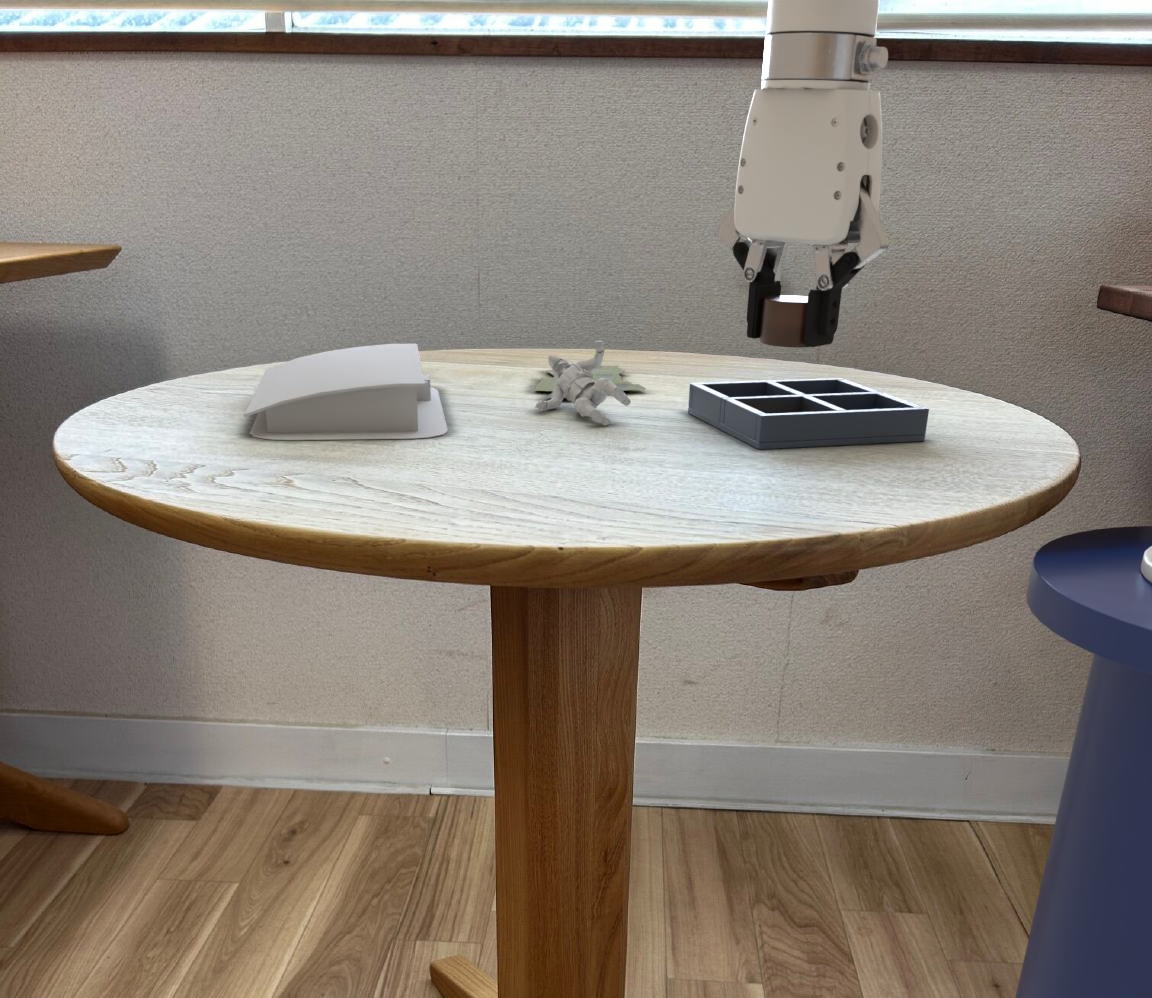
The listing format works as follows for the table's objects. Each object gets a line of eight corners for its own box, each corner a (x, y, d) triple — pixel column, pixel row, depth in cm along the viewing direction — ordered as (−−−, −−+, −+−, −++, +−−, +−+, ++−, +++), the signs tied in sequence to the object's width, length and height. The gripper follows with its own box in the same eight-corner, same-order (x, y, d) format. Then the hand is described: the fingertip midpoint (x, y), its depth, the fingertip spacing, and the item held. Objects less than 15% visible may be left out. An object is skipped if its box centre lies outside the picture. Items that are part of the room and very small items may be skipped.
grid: (924, 441, 97) (929, 408, 96) (758, 449, 93) (761, 415, 92) (837, 406, 109) (840, 377, 108) (687, 412, 105) (689, 382, 104)
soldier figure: (563, 441, 99) (502, 370, 106) (594, 473, 102) (532, 403, 110) (635, 371, 97) (567, 305, 104) (663, 407, 101) (596, 340, 108)
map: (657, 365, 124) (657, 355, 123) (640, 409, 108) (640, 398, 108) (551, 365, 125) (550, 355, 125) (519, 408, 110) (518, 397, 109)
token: (829, 347, 93) (834, 302, 91) (775, 348, 91) (779, 302, 90) (802, 338, 97) (806, 294, 95) (750, 339, 95) (754, 295, 94)
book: (436, 385, 114) (435, 341, 113) (449, 438, 94) (448, 385, 92) (268, 386, 112) (264, 341, 110) (245, 440, 92) (239, 387, 90)
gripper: (953, 69, 83) (912, 350, 91) (749, 71, 93) (729, 324, 101) (897, 62, 78) (859, 360, 86) (688, 65, 88) (672, 332, 96)
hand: (789, 338), depth 94 cm, fingers closed on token, 4 cm apart
